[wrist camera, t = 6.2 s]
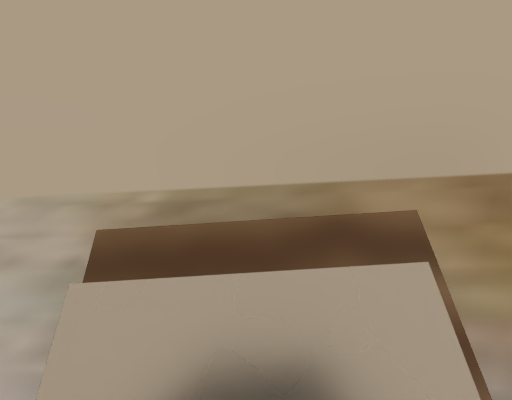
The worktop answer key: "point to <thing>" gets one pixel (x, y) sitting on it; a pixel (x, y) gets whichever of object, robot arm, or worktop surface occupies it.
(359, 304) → the aluminium bar
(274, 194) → the worktop surface
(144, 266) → the walnut pocket block
